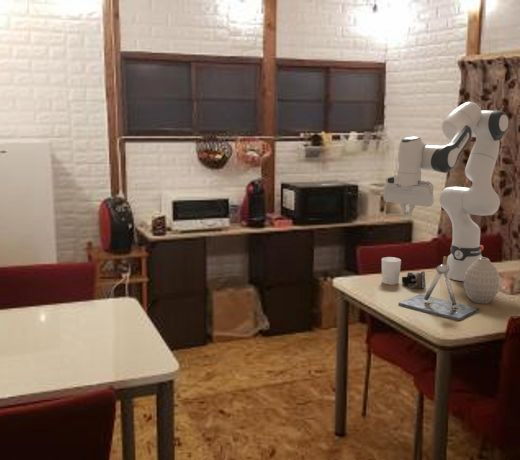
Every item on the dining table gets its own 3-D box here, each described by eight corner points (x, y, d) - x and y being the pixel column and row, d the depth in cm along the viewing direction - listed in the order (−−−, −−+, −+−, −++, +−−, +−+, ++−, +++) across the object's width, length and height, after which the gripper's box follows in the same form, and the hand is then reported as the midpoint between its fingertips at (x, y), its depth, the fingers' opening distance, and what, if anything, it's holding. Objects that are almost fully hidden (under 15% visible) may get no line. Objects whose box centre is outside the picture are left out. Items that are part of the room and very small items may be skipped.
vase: (501, 299, 230) (505, 257, 227) (493, 308, 220) (497, 264, 217) (467, 293, 237) (470, 252, 234) (458, 302, 227) (461, 259, 224)
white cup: (376, 282, 253) (377, 259, 251) (388, 278, 259) (389, 256, 257) (392, 286, 248) (393, 262, 246) (403, 282, 253) (404, 259, 251)
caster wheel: (404, 287, 255) (428, 286, 251) (398, 288, 245) (423, 288, 240) (403, 271, 255) (427, 270, 251) (397, 272, 245) (422, 271, 241)
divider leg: (423, 296, 224) (441, 262, 217) (430, 301, 222) (448, 267, 215) (421, 297, 223) (438, 263, 216) (428, 302, 221) (446, 268, 214)
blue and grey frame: (419, 296, 234) (422, 248, 230) (478, 310, 217) (482, 259, 214) (398, 305, 224) (400, 254, 220) (458, 320, 207) (462, 266, 203)
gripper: (437, 181, 225) (435, 217, 227) (391, 177, 239) (389, 211, 242) (429, 182, 220) (427, 220, 223) (381, 178, 235) (380, 213, 237)
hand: (407, 215), depth 232 cm, fingers closed
